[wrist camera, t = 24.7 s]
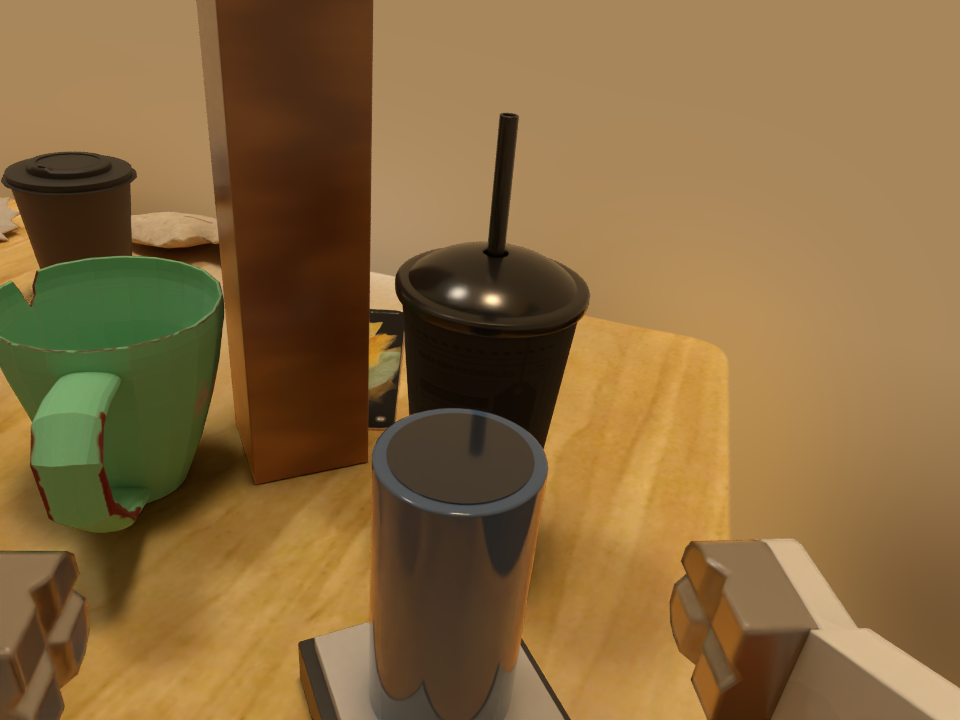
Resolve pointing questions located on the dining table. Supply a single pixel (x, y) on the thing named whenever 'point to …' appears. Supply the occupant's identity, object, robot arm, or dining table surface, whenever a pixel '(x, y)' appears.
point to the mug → (112, 380)
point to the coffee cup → (74, 205)
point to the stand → (293, 222)
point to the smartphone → (384, 366)
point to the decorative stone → (173, 229)
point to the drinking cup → (490, 318)
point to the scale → (345, 677)
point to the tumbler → (451, 563)
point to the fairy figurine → (6, 218)
